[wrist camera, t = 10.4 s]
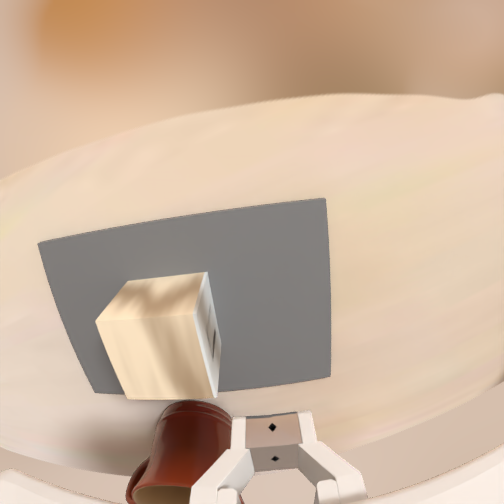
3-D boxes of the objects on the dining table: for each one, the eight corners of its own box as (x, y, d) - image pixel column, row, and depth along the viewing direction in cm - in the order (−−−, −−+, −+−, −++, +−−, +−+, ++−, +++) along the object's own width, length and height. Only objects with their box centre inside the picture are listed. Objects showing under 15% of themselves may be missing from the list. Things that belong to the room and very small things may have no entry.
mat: (323, 198, 20) (325, 198, 20) (329, 373, 25) (330, 376, 24) (41, 241, 20) (37, 243, 20) (96, 389, 25) (94, 392, 24)
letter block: (196, 313, 15) (95, 321, 15) (217, 397, 17) (127, 399, 17) (207, 271, 21) (127, 280, 21) (221, 344, 23) (148, 349, 23)
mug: (206, 375, 24) (194, 475, 15) (260, 428, 27) (267, 515, 17) (116, 414, 26) (86, 492, 16) (171, 458, 28) (159, 531, 18)
